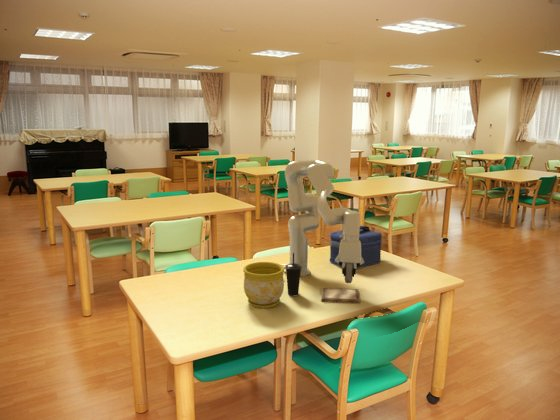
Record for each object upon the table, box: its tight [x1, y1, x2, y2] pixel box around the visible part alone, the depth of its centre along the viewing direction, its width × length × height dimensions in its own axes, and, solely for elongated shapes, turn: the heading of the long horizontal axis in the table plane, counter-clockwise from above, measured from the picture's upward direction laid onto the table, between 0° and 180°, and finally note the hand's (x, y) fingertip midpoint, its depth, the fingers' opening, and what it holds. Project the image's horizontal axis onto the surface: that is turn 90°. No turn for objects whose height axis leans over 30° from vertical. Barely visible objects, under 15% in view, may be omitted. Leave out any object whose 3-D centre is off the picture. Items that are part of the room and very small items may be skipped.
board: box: [321, 287, 361, 304], centre depth 204 cm, size 17×14×2 cm
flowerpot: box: [242, 261, 285, 309], centre depth 195 cm, size 18×18×16 cm
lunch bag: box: [329, 225, 383, 270], centre depth 253 cm, size 31×21×20 cm
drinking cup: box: [285, 253, 302, 297], centre depth 205 cm, size 8×8×20 cm
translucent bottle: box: [344, 263, 354, 284], centre depth 204 cm, size 4×4×13 cm
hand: (348, 275), depth 205 cm, fingers closed on translucent bottle, 3 cm apart
